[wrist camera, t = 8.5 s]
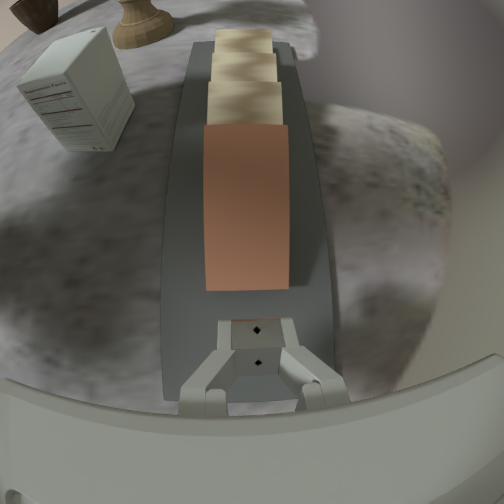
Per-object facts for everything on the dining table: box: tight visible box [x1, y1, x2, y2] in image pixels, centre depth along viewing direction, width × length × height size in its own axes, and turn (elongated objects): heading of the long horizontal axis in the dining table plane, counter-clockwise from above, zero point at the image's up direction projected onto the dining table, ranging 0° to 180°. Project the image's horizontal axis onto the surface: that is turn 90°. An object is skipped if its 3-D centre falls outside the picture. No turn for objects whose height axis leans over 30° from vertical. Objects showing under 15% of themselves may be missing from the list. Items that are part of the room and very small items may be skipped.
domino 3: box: [207, 81, 283, 125], centre depth 21 cm, size 6×2×12 cm
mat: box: [160, 41, 335, 403], centre depth 25 cm, size 14×44×1 cm, turn 2°
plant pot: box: [9, 0, 58, 34], centre depth 30 cm, size 15×15×16 cm
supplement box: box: [17, 27, 135, 152], centre depth 20 cm, size 7×7×13 cm
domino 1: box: [214, 29, 273, 53], centre depth 24 cm, size 6×2×12 cm
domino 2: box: [211, 52, 277, 82], centre depth 22 cm, size 6×2×12 cm
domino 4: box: [203, 124, 290, 291], centre depth 20 cm, size 6×2×12 cm
